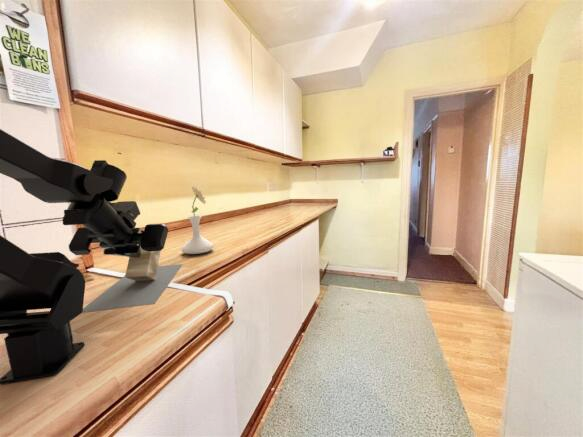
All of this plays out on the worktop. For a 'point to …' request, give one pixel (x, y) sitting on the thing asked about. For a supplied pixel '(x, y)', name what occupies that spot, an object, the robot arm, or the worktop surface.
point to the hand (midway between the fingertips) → (138, 255)
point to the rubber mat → (134, 291)
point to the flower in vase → (196, 231)
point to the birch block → (143, 266)
